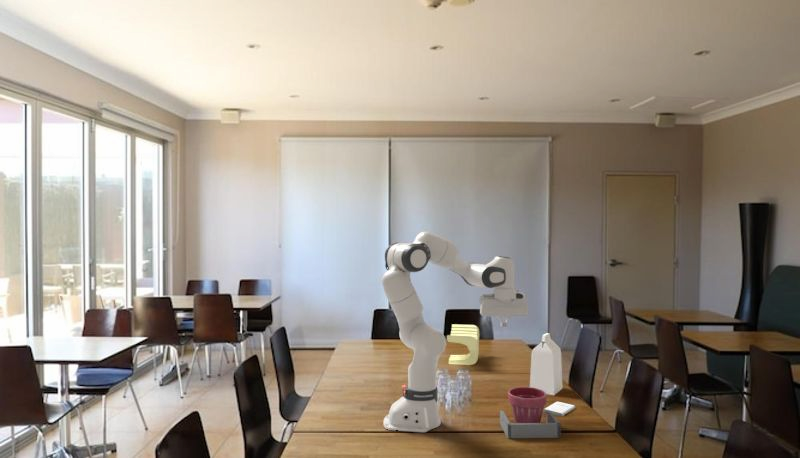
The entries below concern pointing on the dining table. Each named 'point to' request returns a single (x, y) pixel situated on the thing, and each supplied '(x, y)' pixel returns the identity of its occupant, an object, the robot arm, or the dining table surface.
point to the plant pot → (527, 404)
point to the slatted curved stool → (465, 343)
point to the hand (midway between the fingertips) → (504, 326)
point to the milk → (546, 366)
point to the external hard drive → (560, 408)
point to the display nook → (532, 428)
